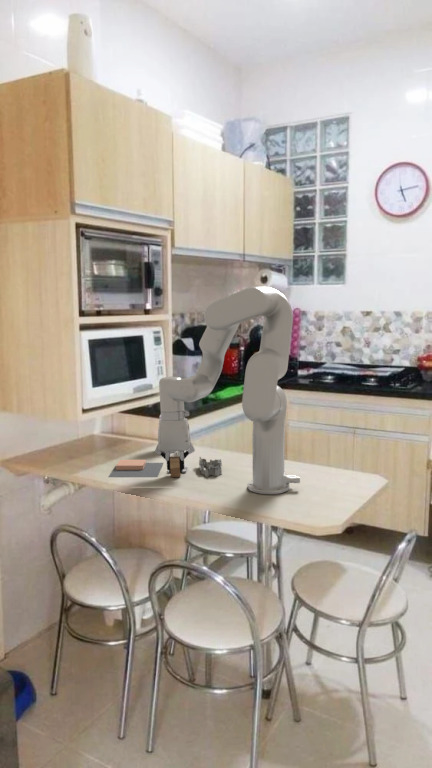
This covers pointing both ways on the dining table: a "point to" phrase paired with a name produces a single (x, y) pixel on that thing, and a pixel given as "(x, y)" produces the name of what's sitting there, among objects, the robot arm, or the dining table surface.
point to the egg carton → (210, 467)
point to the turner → (176, 466)
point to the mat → (139, 471)
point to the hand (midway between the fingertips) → (175, 471)
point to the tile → (131, 465)
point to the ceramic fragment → (176, 454)
